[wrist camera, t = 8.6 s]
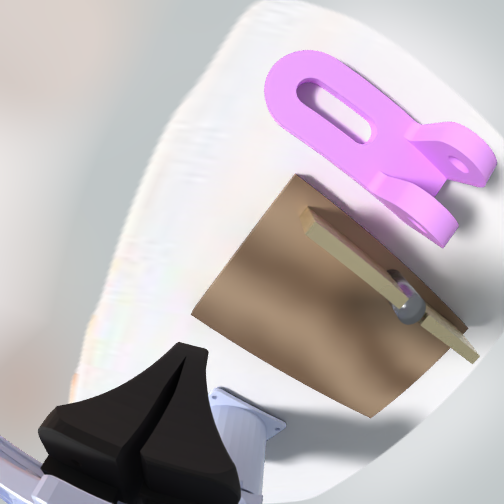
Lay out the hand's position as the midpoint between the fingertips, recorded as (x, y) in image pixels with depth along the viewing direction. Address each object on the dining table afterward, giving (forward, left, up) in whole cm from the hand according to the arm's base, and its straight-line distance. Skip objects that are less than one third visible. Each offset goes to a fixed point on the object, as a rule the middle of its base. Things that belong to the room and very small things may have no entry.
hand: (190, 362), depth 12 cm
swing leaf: (+7, -14, -8) cm, 18 cm away
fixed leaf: (+7, -6, -8) cm, 12 cm away
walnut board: (+2, -9, -9) cm, 13 cm away
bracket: (+13, -1, -10) cm, 17 cm away
